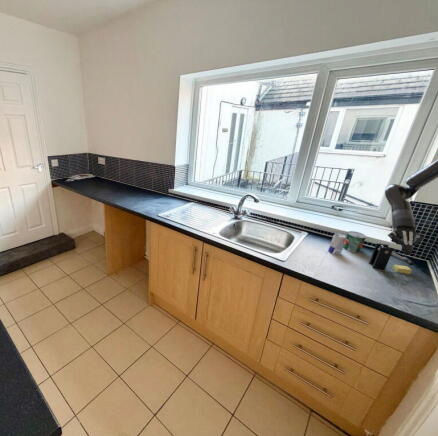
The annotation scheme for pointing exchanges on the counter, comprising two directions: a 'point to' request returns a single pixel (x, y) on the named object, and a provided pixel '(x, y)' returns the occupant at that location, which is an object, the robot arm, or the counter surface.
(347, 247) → the canned tomato
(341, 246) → the energy drink
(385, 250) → the slicer
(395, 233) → the robot arm
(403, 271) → the butter
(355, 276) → the counter surface
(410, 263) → the blade
